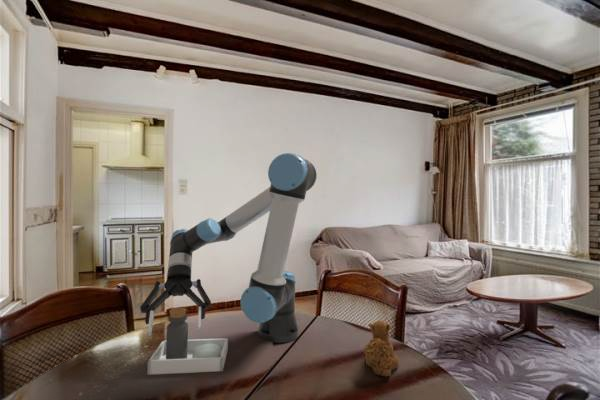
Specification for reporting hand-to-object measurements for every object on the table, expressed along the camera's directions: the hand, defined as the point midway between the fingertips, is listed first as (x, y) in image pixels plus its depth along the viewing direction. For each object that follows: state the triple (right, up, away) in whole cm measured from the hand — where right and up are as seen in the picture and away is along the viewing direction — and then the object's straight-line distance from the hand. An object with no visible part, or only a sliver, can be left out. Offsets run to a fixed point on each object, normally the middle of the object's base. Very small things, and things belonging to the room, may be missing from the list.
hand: (174, 331), depth 90 cm
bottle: (0, -9, +1) cm, 9 cm away
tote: (+4, -10, +1) cm, 11 cm away
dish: (+9, -9, +2) cm, 13 cm away
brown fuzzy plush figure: (+60, -11, +1) cm, 61 cm away
